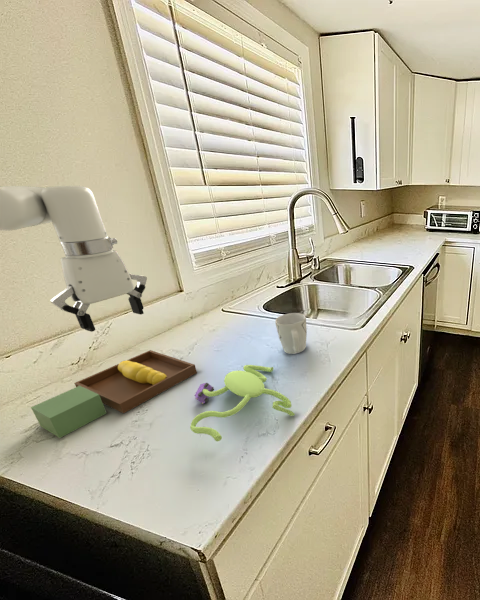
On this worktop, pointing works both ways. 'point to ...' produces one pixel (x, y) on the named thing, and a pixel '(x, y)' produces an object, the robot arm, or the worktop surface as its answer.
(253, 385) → the figurine
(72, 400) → the block
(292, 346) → the mug
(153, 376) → the yellow stacked capsules
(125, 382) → the tray
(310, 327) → the worktop surface
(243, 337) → the worktop surface
